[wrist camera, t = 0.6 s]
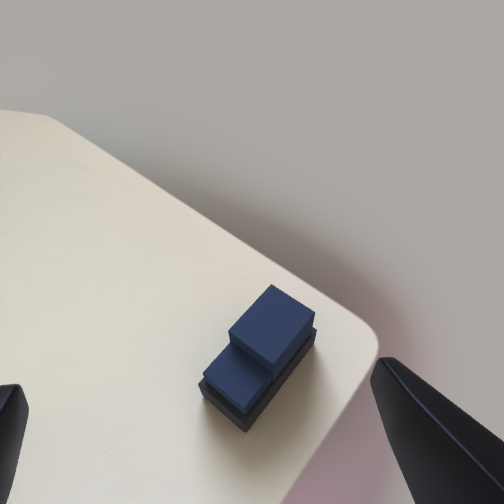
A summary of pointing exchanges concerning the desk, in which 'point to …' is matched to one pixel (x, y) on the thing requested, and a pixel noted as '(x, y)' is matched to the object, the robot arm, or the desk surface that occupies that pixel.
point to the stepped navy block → (259, 356)
